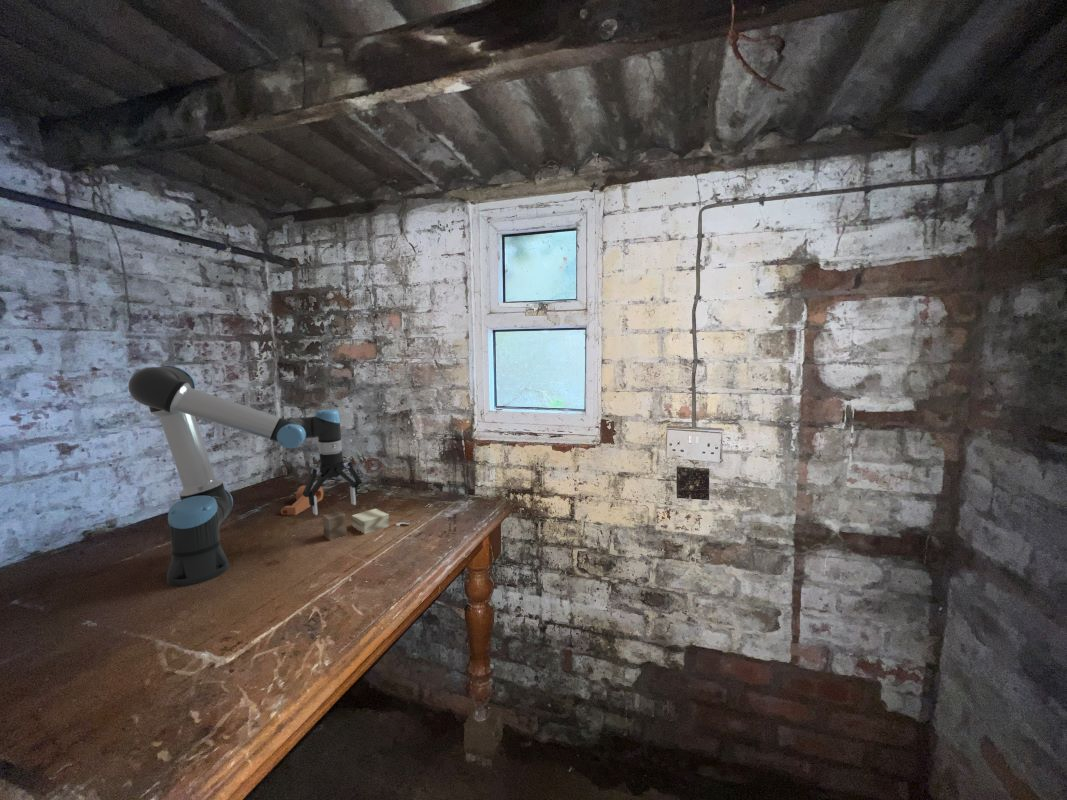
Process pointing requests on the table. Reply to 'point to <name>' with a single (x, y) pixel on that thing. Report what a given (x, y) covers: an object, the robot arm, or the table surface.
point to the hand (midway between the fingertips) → (335, 508)
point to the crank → (301, 502)
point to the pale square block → (370, 520)
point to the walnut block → (334, 525)
